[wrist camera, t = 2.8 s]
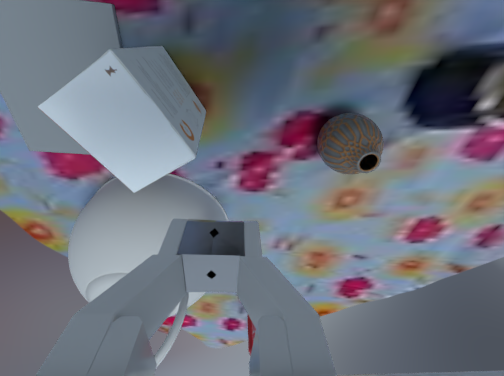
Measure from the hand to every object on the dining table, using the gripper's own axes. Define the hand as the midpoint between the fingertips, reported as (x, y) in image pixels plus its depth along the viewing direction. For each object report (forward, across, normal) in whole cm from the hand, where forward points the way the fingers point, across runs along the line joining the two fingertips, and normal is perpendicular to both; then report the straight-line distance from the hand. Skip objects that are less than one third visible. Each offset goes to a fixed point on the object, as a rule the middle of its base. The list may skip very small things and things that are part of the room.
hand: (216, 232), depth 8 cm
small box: (+22, +8, 0) cm, 23 cm away
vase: (+22, -14, +3) cm, 27 cm away
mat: (+22, +19, 0) cm, 29 cm away
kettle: (+23, +10, +21) cm, 32 cm away
